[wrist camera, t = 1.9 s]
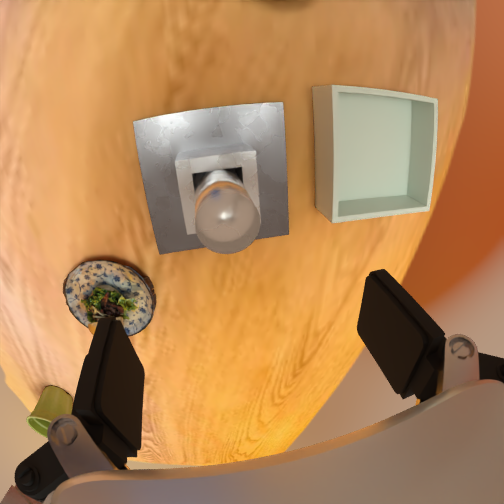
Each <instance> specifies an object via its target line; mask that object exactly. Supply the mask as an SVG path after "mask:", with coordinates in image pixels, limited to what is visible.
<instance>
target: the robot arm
mask: <svg viewBox="0 0 504 504" xmlns="http://www.w3.org/2000/svg"><path fill="white" fill-rule="evenodd" d="M357 331H358V334H359V336H360V337H361V339H362V340H363V342H364V344H365V345H366V347H367V348H368V350H369V351H370V353H371V354H372V356H373V358H374V359H375V361H376V362H377V364H378V365H379V367H380V369H381V370H382V372H383V373H384V375H385V377H386V378H387V380H388V381H389V383H390V385H391V386H392V388H393V390H394V391H395V392H396V393H397V394H400V395H401V397H402V398H403V399H405V398H407V397H409V396H411V395H413V394H415V396H416V397H417V400H416V406H414V407H412V408H410V409H407V410H405V411H403V412H401V413H399V414H396V415H394V416H392V417H389V418H387V419H385V420H383V421H380V422H378V423H375V424H373V425H371V426H368V427H365V428H363V429H360V430H357V431H354V432H352V433H349V434H346V435H343V436H340V437H337V438H334V439H331V440H328V441H325V442H322V443H318V444H315V445H311V446H308V447H304V448H300V449H297V450H293V451H289V452H284V453H280V454H276V455H271V456H266V457H261V458H256V459H251V460H245V461H239V462H233V463H226V464H218V465H209V466H200V467H188V468H173V469H147V470H145V469H144V470H130V468H129V467H128V466H127V465H126V463H127V457H137V450H140V449H141V432H142V408H143V391H144V377H145V373H144V368H143V366H142V364H141V362H140V360H139V358H138V356H137V354H136V352H135V350H134V348H133V346H132V344H131V342H130V340H129V337H128V335H127V333H126V331H125V329H124V327H123V325H122V322H121V321H120V320H116V318H115V317H105V318H100V319H99V320H98V323H97V326H96V329H95V333H94V336H93V339H92V343H91V346H90V349H89V353H88V354H87V355H86V357H85V359H84V363H83V366H82V370H81V374H80V378H79V382H78V386H77V390H76V394H75V398H74V403H73V407H72V412H71V414H62V415H59V416H57V417H56V418H54V419H53V420H52V421H51V423H50V425H49V427H48V430H47V438H48V442H47V443H45V444H44V445H43V446H42V447H40V448H39V449H38V450H37V451H35V452H34V453H33V454H31V455H30V456H29V457H28V458H26V459H25V460H24V461H23V462H21V463H20V464H19V465H18V467H17V468H16V471H15V483H16V486H13V485H12V486H11V487H10V488H9V490H8V492H7V493H6V495H5V496H4V498H3V500H2V501H1V503H0V504H504V358H500V357H495V356H491V355H487V354H483V353H479V352H478V349H477V346H476V344H475V342H474V341H473V340H472V339H470V338H469V337H467V336H465V335H462V334H455V335H452V336H450V337H448V339H446V338H445V337H444V335H445V333H444V331H443V330H442V329H441V328H440V327H439V326H438V325H437V324H436V322H435V321H434V320H433V319H432V318H431V317H430V316H429V315H428V314H427V313H426V312H425V310H424V309H423V308H422V307H421V306H420V305H419V304H418V303H417V302H416V301H415V300H414V299H413V298H412V296H410V294H409V293H408V292H407V291H406V290H405V289H404V288H403V287H402V286H401V285H400V284H399V283H398V282H397V281H396V280H395V279H394V278H393V277H392V276H391V275H390V274H389V273H388V272H387V271H386V270H385V269H381V270H377V271H372V272H370V274H369V276H367V277H366V280H365V286H364V292H363V298H362V303H361V309H360V314H359V319H358V324H357Z"/></svg>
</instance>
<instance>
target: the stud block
mask: <svg viewBox="0 0 504 504" xmlns="http://www.w3.org/2000/svg"><path fill="white" fill-rule="evenodd" d="M133 125H134V132H135V139H136V145H137V151H138V157H139V162H140V168H141V173H142V179H143V184H144V189H145V194H146V198H147V203H148V208H149V212H150V217H151V221H152V225H153V230H154V234H155V238H156V242H157V246H158V250H159V254H166V253H172V252H178V251H185V250H191V249H197V248H204V247H205V246H204V245H203V244H202V243H201V241H200V240H199V238H198V236H197V234H196V233H195V234H189V235H187V230H186V225H185V220H184V214H183V209H182V203H181V197H180V192H179V186H178V179H177V173H176V167H175V160H176V157H177V155H178V153H180V152H186V151H192V150H199V149H205V148H213V147H220V146H228V145H237V144H248V145H249V146H250V147H252V148H253V149H254V150H255V151H256V162H257V176H258V189H259V203H260V217H261V224H260V229H259V233H258V235H257V237H256V238H255V239H262V238H269V237H275V236H282V235H289V219H288V186H287V162H286V141H285V123H284V107H283V102H272V103H255V104H242V105H231V106H221V107H213V108H205V109H198V110H191V111H184V112H178V113H172V114H167V115H161V116H156V117H151V118H146V119H142V120H137V121H133ZM220 170H227V171H230V172H232V173H234V174H235V175H236V176H237V174H236V167H235V168H228V169H220ZM213 171H214V170H213ZM209 172H211V171H206V172H199V173H194V176H195V183H196V186H197V184H198V182H199V180H200V179H201V178H202V177H203V176H204V175H205V174H207V173H209Z"/></svg>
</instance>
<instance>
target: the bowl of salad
mask: <svg viewBox="0 0 504 504" xmlns="http://www.w3.org/2000/svg"><path fill="white" fill-rule="evenodd" d="M152 288H154V287H153V285H152V282H151V280H150V278H149V277H148V276H147V277H145V278H143V277H142V276H141V275H140V274H139V273H138V272H137V271H135V270H134V269H133V268H131V267H129V266H124V265H121V264H118V263H116V262H114V261H108V260H96V261H87V262H83V263H81V264H80V265H79V266H78V267H76V268H75V269H74V270H73V271H72V272H70V273H69V274H68V277H67V278H66V279H65V280H64V283H63V294H64V296H65V297H66V304H67V305H68V306H69V310H70V312H71V313H72V314H73V315H74V317H75V318H76V319H77V320H78V321H79V322H80V323H82V324H83V325H84V326H86V327H87V328H89V331H90V332H91V333H92V334H93V335H94V333H95V329H96V326H97V323H98V320H99V319H100V318H105V317H115V318H116V320H120V321H121V322H122V325H123V327H124V329H125V331H126V333H127V335H128V336H133V335H135V334H137V333H139V332H141V331H142V330H143V329H145V328H146V327H147V325H148V324H149V323H150V321H151V320H152V317H153V313H154V309H155V305H156V295H155V294H153V293H154V289H153V290H152Z"/></svg>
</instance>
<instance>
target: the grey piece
mask: <svg viewBox="0 0 504 504" xmlns="http://www.w3.org/2000/svg"><path fill="white" fill-rule="evenodd" d="M175 167H176V173H177V179H178V186H179V192H180V197H181V203H182V209H183V214H184V220H185V225H186V230H187V235H189V234H195V233H196V234H197V236H198V238H199V240H200V241H201V243H202V244H203V245H204V246H205V247H206V248H208V249H209V250H211V251H214V252H216V253H221V254H232V253H236V252H239V251H241V250H243V249H245V248H247V247H248V246H249V245H250V244H251V243H252V242H253V241H254V240H255V238H256V237H257V235H258V233H259V229H260V224H261V217H260V203H259V189H258V176H257V162H256V151H255V150H254V149H253V148H252V147H250V146H249V145H248V144H237V145H228V146H220V147H213V148H205V149H199V150H192V151H186V152H180V153H178V155H177V157H176V160H175ZM235 167H236V174H237V176H236V175H235V174H234V173H232V172H230V171H227V170H220V169H228V168H235ZM213 170H214V171H213ZM206 171H211V172H209V173H207V174H205V175H204V176H203V177H202V178H201V179H200V180H199V182H198V184H197V186H196V183H195V176H194V173H199V172H206Z"/></svg>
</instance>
